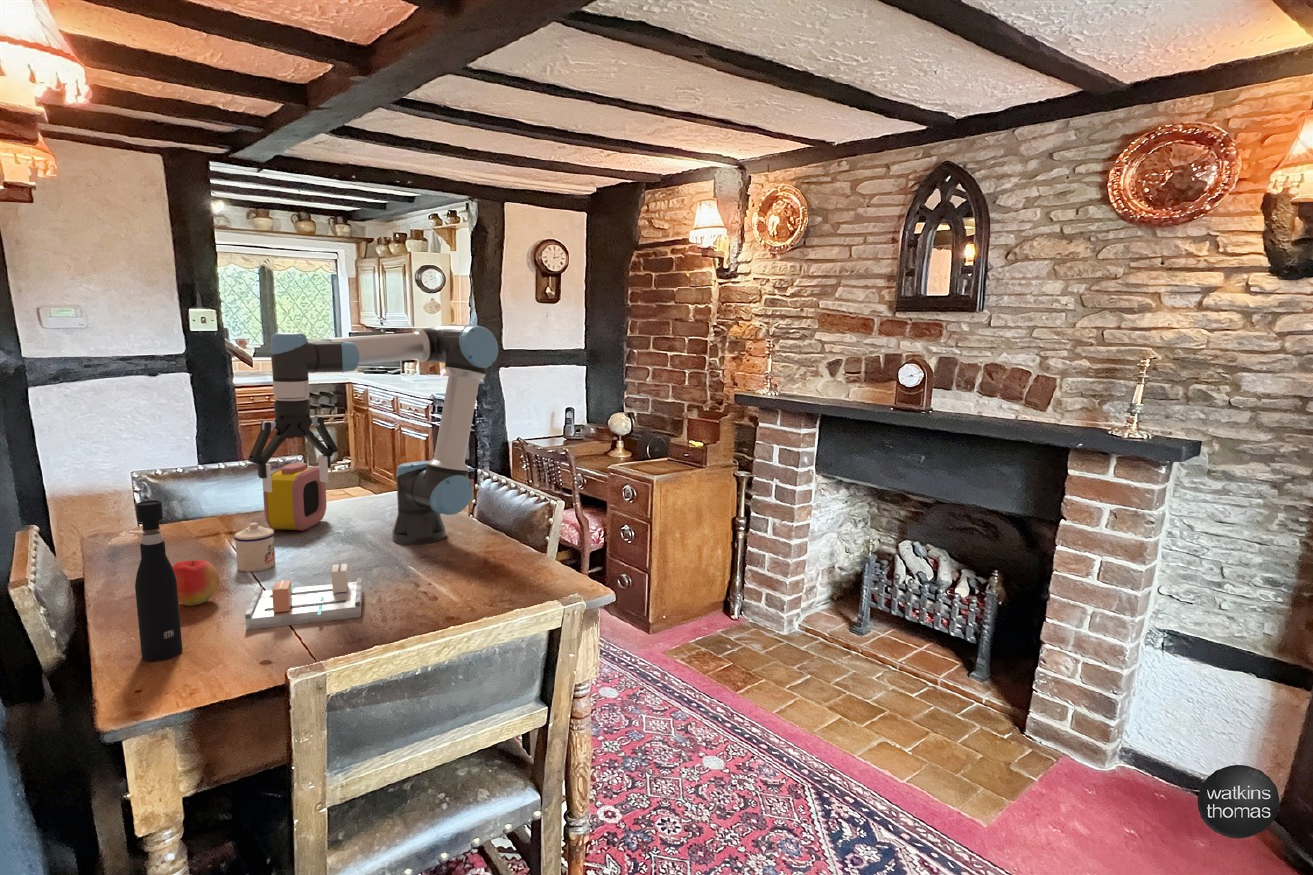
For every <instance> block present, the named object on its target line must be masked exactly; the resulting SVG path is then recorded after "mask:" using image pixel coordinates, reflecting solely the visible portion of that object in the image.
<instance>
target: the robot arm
mask: <svg viewBox="0 0 1313 875" xmlns="http://www.w3.org/2000/svg"><path fill="white" fill-rule="evenodd" d="M269 353H270V358H271V362H270V363H271V369H272V371H271V372H272V390H273V391H272V393H273V397H274V398H275V400H274V401H273V409H274V411H273V412H274V417H275V419H274V421H268V420H267V421H266V420H261V423H260V431H259V432H258V435H257V437H256V440H255V443H254V444H253V447H252V449H251V451H250V453H249V456H248V458H247V460H248V461H247V462H250V463H253V464H256V465H257V474H258V478H259V479H261V481H262V490H263V491H266V492H272V482H271V473H272V469H271V468H272V467H271V464H270V463H268V462H269V461H270V460H271V458H272V456H274V455H275V452H276V451H277V450H278V449H279V447H280V446H281V444H282V443H283V442H285V440H286V439H288V440H291V439H295V438H303V437H304V438H305V439H306V440H307V441H308V442H309V443H311V445H312V446H314V448H315V449H316V450H317V451H319V453H320V454H321V455H318V466H319V467H318V468H319V473H320V481H321V482H325V484H326V483H329V469H331V467H332V463H331V459H332V458H331V457H332V456H333V454H334V453H338V452H339V449H338V446H337V444H336V443H335V441H334V440H333V438H332V436H331V434H330V432H329V431H328V428H327V427H326V425H325V419H324V417H322V416H319V415H317V416H314V417H311V404H310V403H311V401H310V400H309V397H310V382H309V381H310V379H309V373H310V374H313V373H347V372H354V371H355V370H357V369H358V368H359V365H368V364H377V363H380V364H381V363H390V362H402V361H412V360H414V361H415V360H417V361H418V362H420V363H429V362H433V363H441V364H444V370H445V371H446V373H447V374H448V378H447V382H446V383H447V384H446V388H445V395H444V398H443V407H442V411H441V416H440V422H439V429H438V431H437V432H438V434H437V439H436V444H435V450H434V455H433V458H432V459H430V460H422V461H421V460H420V461H419V460H418V461H412V462H404V463H401V464H399V465H398V466H397V468H396V475H395V478H396V492H397V493H396V496H397V497H396V498H397V516H396V519H395V522H394V524H393V529H392V540H393V542H395V543H397V544H402V545H425V544H431V543H435V542H438V541H441V540H442V539H444V538H445V537H446V527H445V524H444V521H443V518H442V516H441V514H443V515H445V516H446V515H447V516H453V515H456V514H458V513H461V512H462V511H464V509H466V507H468V506H469V505H470V502H471V501H472V498H473V494H474V489H473V484H472V483H471V481H470V479H469V471H470V468H469V467H468V466H467V464H466V462H465V461H466V456H467V452H468V446H469V440H470V436H471V429H472V424H473V418H474V413H475V409H476V408H475V407H476V402H477V401H476V400H477V395H478V391H479V390H478V389H479V386H480V381H481V380H482V379H484V378H485V377H486V376H487V370H488V368H489V367H491V366H492V364H494V363H495V362H496V360H497V358H498V354H499V344H498V340H497V338H496V337H495V336H494V333H493V332H492V331H490V330H489V328H487V327H485V326H481V325H477V324H444V325H439V326H433V327H428V328H417V329H415V330H414V331H413V332H406V333H391V334H390V333H389V334H376V335H375V334H374V335H359V336H346V337H345V336H344V337H327V338H314V339H312V338H311V339H309V338H307V335H306V334H305V333H303V332H302V333H301V332H275V333H273V334H272V335H271V337H270V352H269ZM312 425H313V426H314V428H315V429H316V431H317V433H318V434H319V436H320V438H321V439H322V441H323V443H322V441H321V440H320V439H319V438H318V437H317V436H316V435H315V434H314V432H313V431H312V430H310V428H311V426H312ZM274 428H275V429H276V431H275V433H274V435H273V438H271V440H270V442H268V441H269V438H270V436H271V432H272V431H273V430H274ZM267 443H268V444H267ZM266 444H267V446H266Z"/></svg>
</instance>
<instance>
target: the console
mask: <svg viewBox="0 0 1313 875" xmlns="http://www.w3.org/2000/svg"><path fill="white" fill-rule="evenodd" d="M291 592H292V604H291V607H290V610H289V611H283V612H273V596H272V589H268V590H263V586H258V587H256V589H255V592H254V594H253V597H252V599H251V601H250V604H249V606H248V607H247V609H246V612H245V614H244V616H245V617H244V618H245V630H246V631H249V630H252V631H253V630H258V629H260V630H261V629H267V628H276V627H277V628H278V627H284V626H292V625H293V626H294V625H301V624H310V623H319V622H328V621H329V622H330V621H337V620H344V619H352V618H353V619H354V618H360V617H361V616H362V615H361V614H362V602H363V600H362V599H363V577H357V578H356V581H352V582H351V581H350V582H349V581H348V588H347V592H338V593H333V587H332V583H330V584H329V583H328V584H319V585H310V586H309V585H308V586H300V587H295V583H294V584H292V583H291Z"/></svg>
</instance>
